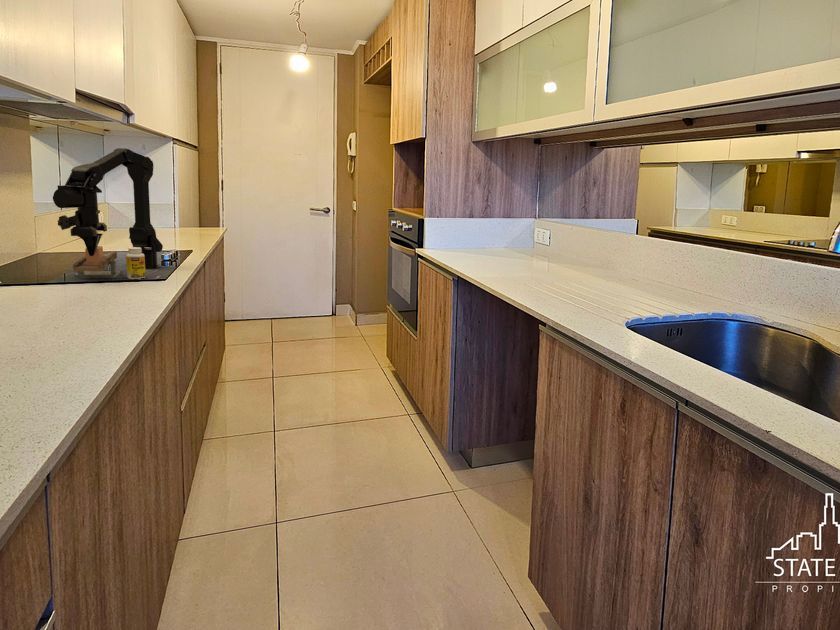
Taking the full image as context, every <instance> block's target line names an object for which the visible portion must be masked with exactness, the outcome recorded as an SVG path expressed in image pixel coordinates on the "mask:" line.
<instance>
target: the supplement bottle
mask: <svg viewBox="0 0 840 630" xmlns="http://www.w3.org/2000/svg"><path fill="white" fill-rule="evenodd" d="M127 251H128V253H127V254H126V255H125V258H126V259H125V260H126V276H127V278H128V279H129V280H134V279H138V280H142V279H141V278H144V279H145V278H147V277H146V268H145V256H144V254H143V253H142V249H141V248H140V247H133V246H131V247H127Z"/></svg>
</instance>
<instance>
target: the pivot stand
mask: <svg viewBox="0 0 840 630" xmlns="http://www.w3.org/2000/svg"><path fill="white" fill-rule="evenodd" d="M109 267H110V270H103V271H77V272H76V273H75V274H73V278H74V279H76V278H77V279H78V278H79V279H110V278H111V279H115V278H117V276H119V275H121V270H117V261H116V260H114V261H110V264H109Z"/></svg>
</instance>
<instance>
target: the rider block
mask: <svg viewBox="0 0 840 630" xmlns="http://www.w3.org/2000/svg"><path fill="white" fill-rule="evenodd" d="M103 247H104V246H102V245H98V246H97V249H96V251H95V254H94V256H90V255H89V253H88V250H87V248H85V249H84V250H85V251H84V253H85V255H86V262H87V263H100V262H101V261H102V260H104V257H103V254H104V249H103Z"/></svg>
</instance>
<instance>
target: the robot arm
mask: <svg viewBox="0 0 840 630" xmlns="http://www.w3.org/2000/svg"><path fill="white" fill-rule="evenodd" d="M121 165H122V166H124V167H125V168H126V169H127V174H128V176H129V177H130V179H131V181H132V184H133V185H132V187H133V202H134V203H133V204H134V224H133V226H131V227H129V229H128V230H129V231H128V232H129V236H128V239H129V240H130V243H131V245H132V247H140V248H141V249H142V253H143V254H144V256H145V269H158V268H159V267H161V265H160V264H158V253H157V252H159V253H160V252H162V251H163V248H164V246H163V244H162V242H161V241H160V239H158V238H157V233H156V229H155V228H154V226H153V225H152V222H151V209H150V208H151V207H150V187H149V185H150V184H149V182H150V181H151V178H152V177H153V174H154V162H153V160H152V159H151V158H150V157H149V156H145V155H142V154H140V153H137V152H134V151H133V150H131V149H129V148H115V149H114V150H113V151H111V152H109V153H108V154H106V155H104V156H103V157H101V158H99V159H97V160H96V161H93V162H91V163H86V164H80V165H77V166H74V167H72V169H71V172H70V175H69V177H68V178H67V181H66V182H65V184H64V185H63V184H60V185H59V184H58V185H57V189H56V190H55V191H54V192H53V195H52V201H53V203H54V205H55V206H56V207H57V208H59V209H70V208H71V209H73V208H74V209H75V208H77V209H76V210H75V211H74V215H72V216H67V215H66V214H63V215H61V216H59V217H58V220H57V226H59V227H60V229H61V230H62V231H64V230H68V229H70V236H71V237H79V238H80V239H81V240H82V241H83V243H84V245H85V247H86V248H87V250H88V253H89V255H90V256H94V254H95V251H96V249H97V246H99V243H100V242H101V239H102V237H103V233H99V232H101V231H102V232H104V233H105V232H107V231H108V226H107V224H106V223H105V222H100V218H99V217H100V216H99V215H100V214H101V210H100V209H99V205H98V194H99V193H101V194H102V193H103V189H100V187H98V186H97V185H98V184H99V183H101V182H102V181H103V179H104V176H105V175H106V174H108V173H109V172H111V171H112V170H114V169H116V168H118V167H120V166H121ZM71 227H72V228H71ZM86 248H85V249H86Z"/></svg>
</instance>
